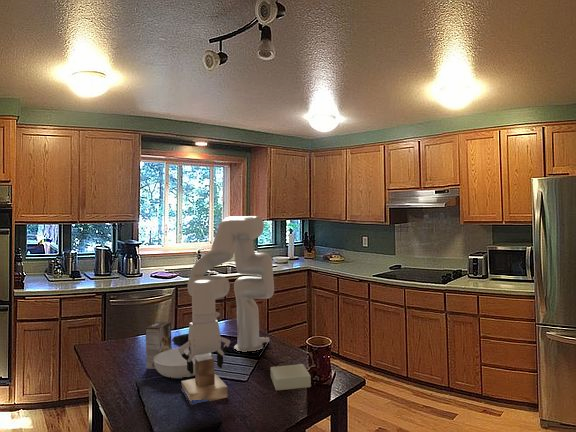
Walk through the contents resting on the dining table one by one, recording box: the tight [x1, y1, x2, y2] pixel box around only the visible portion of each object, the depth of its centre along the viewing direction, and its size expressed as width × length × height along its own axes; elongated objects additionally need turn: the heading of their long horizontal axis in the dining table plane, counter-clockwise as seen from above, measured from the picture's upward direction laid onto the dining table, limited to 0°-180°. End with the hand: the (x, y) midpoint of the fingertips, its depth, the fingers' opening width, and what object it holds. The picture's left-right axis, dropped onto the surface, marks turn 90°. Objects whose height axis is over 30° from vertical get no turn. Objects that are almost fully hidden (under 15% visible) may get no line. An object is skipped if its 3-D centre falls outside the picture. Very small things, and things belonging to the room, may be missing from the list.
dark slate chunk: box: [171, 333, 189, 346], centre depth 200 cm, size 15×22×5 cm
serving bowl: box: [153, 347, 212, 379], centre depth 155 cm, size 21×21×7 cm
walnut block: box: [194, 355, 215, 388], centre depth 137 cm, size 5×5×8 cm
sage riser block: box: [270, 363, 312, 391], centre depth 146 cm, size 12×12×4 cm
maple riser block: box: [180, 373, 228, 402], centre depth 137 cm, size 12×12×4 cm
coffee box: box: [144, 321, 173, 370], centre depth 165 cm, size 9×6×16 cm
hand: (205, 369), depth 137 cm, fingers open, 9 cm apart
